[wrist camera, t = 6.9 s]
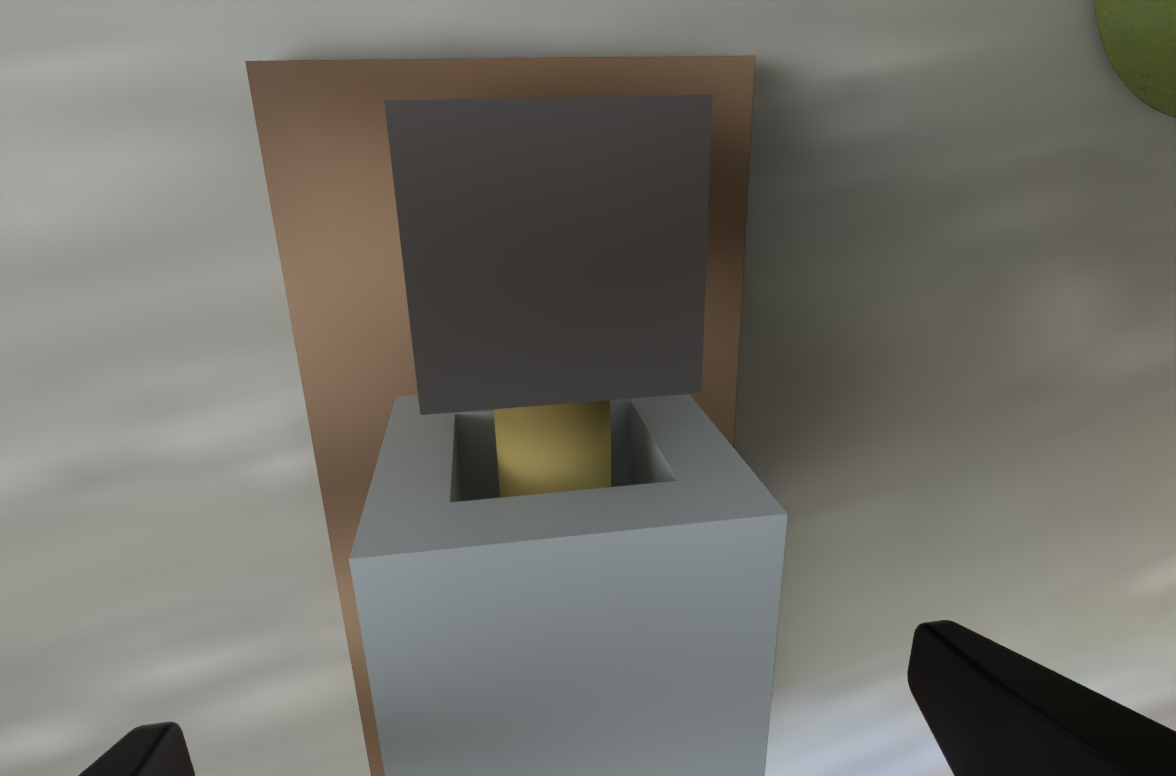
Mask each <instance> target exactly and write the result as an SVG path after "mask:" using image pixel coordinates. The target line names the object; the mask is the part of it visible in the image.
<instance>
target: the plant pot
mask: <svg viewBox="0 0 1176 776" xmlns="http://www.w3.org/2000/svg"><path fill="white" fill-rule="evenodd" d="M1094 7H1095V14H1096V19H1097V23H1098V27H1099V32H1100V36H1101V39H1102V43H1103V46H1104V49H1105V52H1106V54H1107V56H1108V58H1109V60H1110V62H1111V64H1112V66H1113V68H1114V69H1115V71H1116V72H1117V74H1118V75H1119V77H1120V78H1121V79H1122V81H1123V82H1124V83H1125V84H1126V86H1127V87H1128V88H1129V89H1130V90H1131V91H1132V92H1133V93H1134V94H1136V95H1137V96H1138V97H1139V98H1140V99H1142V100H1143V101H1144V102H1145V103H1146V104H1148V105H1149V106H1151V107H1153V108H1154V109H1156V110H1158V111H1161V112H1163V113H1166V114H1168V115H1171V116H1174V117H1176V0H1094Z"/></svg>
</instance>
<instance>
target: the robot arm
mask: <svg viewBox="0 0 1176 776" xmlns="http://www.w3.org/2000/svg"><path fill="white" fill-rule="evenodd" d="M908 683H909V687H910V690H911V692H912V695H913V697H914V699H915V701H916V702H917V704H918V706H919V708H920V710H921V712H922V714H923V716H924V718H925V720H926V722H927V724H928V726H929V728H930V730H931V732H932V733H933V735H934V737H935V739H936V741H937V743H938V745H939V747H940V749H941V751H942V753H943V755H944V757H945V759H946V761H947V763H948V764H949V766H950V768H951V770H952V772H953V774H954V776H1176V731H1174V730H1172V729H1170V728H1168V727H1166V726H1164V725H1162V724H1160V723H1158V722H1156V721H1153V720H1151V719H1149V718H1147V717H1145V716H1143V715H1141V714H1139V713H1137V712H1135V711H1133V710H1131V709H1129V708H1127V707H1125V706H1123V705H1121V704H1119V703H1117V702H1115V701H1113V700H1111V699H1109V698H1107V697H1105V696H1103V695H1101V694H1099V693H1097V692H1095V691H1093V690H1091V689H1089V688H1087V687H1085V686H1083V685H1081V684H1079V683H1077V682H1075V681H1073V680H1071V679H1069V678H1067V677H1065V676H1063V675H1060V674H1058V673H1056V672H1054V671H1052V670H1050V669H1048V668H1046V667H1044V666H1042V665H1040V664H1038V663H1036V662H1034V661H1032V660H1030V659H1028V658H1026V657H1024V656H1022V655H1020V654H1018V653H1016V652H1014V651H1012V650H1010V649H1008V648H1006V647H1004V646H1002V645H1000V644H998V643H996V642H994V641H992V640H990V639H988V638H986V637H984V636H982V635H980V634H978V633H976V632H974V631H972V630H969V629H967V628H965V627H963V626H961V625H959V624H957V623H955V622H953V621H949V620H941V621H933V622H925V623H922V624H919V625H918V626H917V628H916V629H915V632H914V637H913V643H912V649H911V655H910V660H909V666H908ZM78 776H195V773H194V769H193V766H192V762H191V759H190V755H189V752H188V749H187V745H186V742H185V739H184V735H183V732H182V730H181V727H180V726H179V725H178V724H177V723H175V722H164V723H156V724H149V725H142V726H139V727H136V728H134V729H133V730H131V731H130V732H129V733H128V734H126V735H125V736H124V737H123V738H122V739H121V740H119V741H118V742H117V743H116V744H115V745H114V746H112V747H111V748H110V749H109V750H108V751H106V752H105V753H104V754H103V755H102V756H101V757H99V758H98V759H97V760H96V761H95V762H94V763H92V764H91V765H90V766H89V767H88V768H87V769H85V770H84V771H83V772H82V773H81V774H80V775H78Z"/></svg>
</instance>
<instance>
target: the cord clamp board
mask: <svg viewBox="0 0 1176 776" xmlns="http://www.w3.org/2000/svg"><path fill="white" fill-rule="evenodd" d="M245 62H246V68H247V73H248V79H249V85H250V90H251V96H252V102H253V108H254V113H255V119H256V125H257V130H258V136H259V142H260V147H261V153H262V159H263V164H264V170H265V176H266V181H267V187H268V193H269V198H270V204H271V210H272V215H273V221H274V227H275V232H276V238H277V244H278V250H279V255H280V261H281V267H282V272H283V278H284V284H285V289H286V295H287V301H288V306H289V312H290V318H291V323H292V329H293V335H294V340H295V346H296V352H297V357H298V363H299V369H300V374H301V380H302V386H303V392H304V397H305V403H306V409H307V414H308V420H309V426H310V431H311V437H312V443H313V448H314V454H315V460H316V465H317V471H318V477H319V482H320V488H321V494H322V499H323V505H324V511H325V516H326V522H327V528H328V534H329V539H330V545H331V551H332V556H333V562H334V568H335V573H336V579H337V585H338V590H339V596H340V602H341V607H342V613H343V619H344V624H345V630H346V636H347V641H348V647H349V653H350V658H351V664H352V670H353V676H354V681H355V687H356V693H357V698H358V704H359V710H360V715H361V721H362V727H363V732H364V738H365V744H366V749H367V755H368V761H369V766H370V772H371V776H385V773H384V767H383V761H382V755H381V749H380V743H379V737H378V731H377V725H376V719H375V713H374V707H373V701H372V695H371V689H370V683H369V677H368V671H367V665H366V659H365V653H364V647H363V641H362V635H361V629H360V623H359V617H358V611H357V605H356V599H355V593H354V587H353V581H352V575H351V569H350V563H349V557H350V554H351V550H352V547H353V543H354V540H355V536H356V533H357V530H358V526H359V523H360V519H361V516H362V512H363V509H364V505H365V502H366V498H367V495H368V491H369V488H370V484H371V481H372V478H373V474H374V471H375V467H376V464H377V460H378V457H379V453H380V450H381V446H382V443H383V439H384V436H385V432H386V429H387V425H388V422H389V419H390V415H391V412H392V408H393V405H394V401H395V398H396V396H407V395H418V399H419V408H420V415H427V414H440V413H453V412H465V411H478V410H491V409H494V422H495V435H496V448H497V462H498V475H499V488H500V498H502V497H513V496H523V495H534V494H544V493H555V492H565V491H576V490H586V489H597V488H607V487H611V418H610V400H619V399H632V398H645V397H658V396H670V395H683V394H690V396H691V397H692V398H693V399H694V400H695V402H696V403H697V404H698V405H699V406H700V408H701V409H702V410H703V411H704V413H705V414H706V415H707V416H708V417H709V419H710V420H711V421H712V422H713V423H714V425H715V426H716V427H717V428H718V430H719V431H720V432H721V433H722V434H723V436H724V437H725V438H726V439H727V441H728V442H729V443H730V444H731V445H732V447H733V448H734V429H735V411H736V393H737V375H738V357H739V339H740V321H741V303H742V284H743V266H744V248H745V230H746V212H747V194H748V176H749V158H750V139H751V121H752V103H753V85H754V67H755V56H684V57H587V58H491V59H394V60H297V61H245Z"/></svg>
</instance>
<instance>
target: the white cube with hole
mask: <svg viewBox="0 0 1176 776" xmlns="http://www.w3.org/2000/svg"><path fill="white" fill-rule="evenodd" d="M610 418H611V487H607V488H597V489H586V490H576V491H565V492H555V493H544V494H534V495H523V496H513V497H502V498H500V488H499V475H498V462H497V448H496V435H495V422H494V409H491V410H478V411H465V412H453V413H440V414H427V415H420V408H419V399H418V395H407V396H396V398H395V401H394V405H393V408H392V412H391V415H390V419H389V422H388V425H387V429H386V432H385V436H384V439H383V443H382V446H381V450H380V453H379V457H378V460H377V464H376V467H375V471H374V474H373V478H372V481H371V484H370V488H369V491H368V495H367V498H366V502H365V505H364V509H363V512H362V516H361V519H360V523H359V526H358V530H357V533H356V536H355V540H354V543H353V547H352V550H351V554H350V557H349V563H350V569H351V575H352V581H353V587H354V593H355V599H356V605H357V611H358V617H359V623H360V629H361V635H362V641H363V647H364V653H365V659H366V665H367V671H368V677H369V683H370V689H371V695H372V701H373V707H374V713H375V719H376V725H377V731H378V737H379V743H380V749H381V755H382V761H383V767H384V773H385V776H765V765H766V753H767V742H768V731H769V719H770V708H771V697H772V685H773V674H774V663H775V651H776V640H777V629H778V617H779V606H780V595H781V583H782V572H783V561H784V549H785V538H786V527H787V515H788V513H787V512H786V511H785V510H784V509H783V507H782V506H781V505H780V504H779V503H778V501H777V500H776V499H775V498H774V496H773V495H772V494H771V493H770V492H769V490H768V489H767V488H766V487H765V486H764V484H763V483H762V482H761V481H760V479H759V478H758V477H757V476H756V475H755V473H754V472H753V471H752V470H751V468H750V467H749V466H748V465H747V464H746V462H745V461H744V460H743V459H742V458H741V456H740V455H739V454H738V453H737V451H736V450H735V449H734V448H733V447H732V445H731V444H730V443H729V442H728V441H727V439H726V438H725V437H724V436H723V434H722V433H721V432H720V431H719V430H718V428H717V427H716V426H715V425H714V423H713V422H712V421H711V420H710V419H709V417H708V416H707V415H706V414H705V413H704V411H703V410H702V409H701V408H700V406H699V405H698V404H697V403H696V402H695V400H694V399H693V398H692V397H691V396H690V394H683V395H670V396H658V397H645V398H632V399H619V400H610Z"/></svg>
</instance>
